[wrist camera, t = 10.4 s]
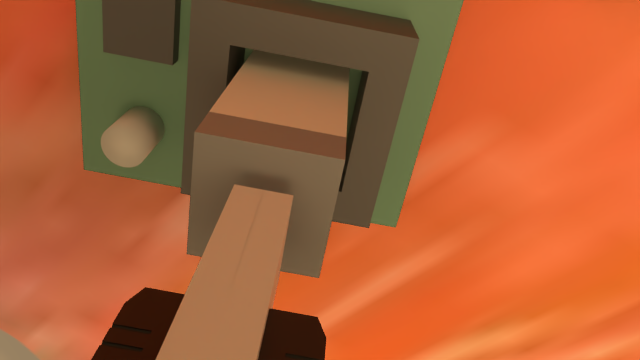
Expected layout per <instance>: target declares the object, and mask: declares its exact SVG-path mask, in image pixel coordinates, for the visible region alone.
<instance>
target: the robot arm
mask: <svg viewBox="0 0 640 360" xmlns="http://www.w3.org/2000/svg"><path fill="white" fill-rule="evenodd" d="M292 201H293V195H289V194H283V193H278V192H273V191H267V190H262V189H257V188H251V187H246V186H241V185H235V184H234V186H233V188H232V191H231V193H230V195H229V197H228V200H227V202H226V204H225V206H224V209H223V211H222V213H221V215H220V217H219V220H218V222H217V224H216V226H215V229H214V231H213V233H212V235H211V237H210V240H209V242H208V244H207V246H206V249H205V251H204V253H203V255H202V257H201V260H200V262H199V264H198V266H197V269H196V271H195V273H194V275H193V277H192V280H191V282H190V284H189V286H188V289H187V291H186V293H185V294H179V293H174V292H168V291H163V290H157V289H152V288H146V287H145V288H144V289H143V290H141V291H140V292H139V293H137V294H136V295H135V296H133V297H132V298H131V299H129V300H128V301H127V302H126V303H125V304H124V305H123V307H122V309H121V310H120V312H119V314H118V315H117V317H116V319H115V320H114V322H113V325H112V328H110V329H109V331H108V332H107V334H106V336H105V337H104V339H103V341H102V345H100V346H99V347H98V349H97V351H96V353H95V354H94V356H93V358H92V359H91V360H325V346H326V336H325V334H324V332H323V329H322V327H321V324H320V322H319V320H318V317H314V316H309V315H303V314H298V313H292V312H287V311H281V310H276V309H272V308H273V303H274V299H275V294H276V289H277V285H278V280H279V274H280V269H281V263H282V257H283V252H284V246H285V240H286V235H287V229H288V224H289V218H290V212H291V207H292Z"/></svg>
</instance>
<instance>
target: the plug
mask: <svg viewBox="0 0 640 360" xmlns="http://www.w3.org/2000/svg"><path fill="white" fill-rule="evenodd" d="M348 90H349V68H347V67H342V66H336V65H331V64H326V63H321V62H316V61H311V60H305V59H300V58H295V57H290V56H285V55H280V54H274V53H269V52H264V51H259V50H253V52H252V53H251V54H250V56H249V57H248V59H247V60H246V61H245V63H244V64H243V65H242V67H241V68H240V70H239V71H238V72H237V74H236V75H235V77H234V78H233V79H232V81H231V82H230V83H229V85H228V86H227V88H226V89H225V90H224V92H223V93H222V94H221V96H220V97H219V99H218V100H217V101H216V103H215V104H214V106H213V107H212V108H211V110H210V111H209V112H208V114H207V115H206V117H205V118H204V119H203V121H202V122H201V123H200V125H199V126H198V128H197V129H196V130H195V132H194V148H193V163H192V179H191V195H190V210H189V226H188V242H187V254H189V255H195V256H200V257H202V255H203V253H204V251H205V249H206V246H207V244H208V242H209V240H210V237H211V235H212V233H213V231H214V229H215V226H216V224H217V222H218V220H219V217H220V215H221V213H222V211H223V209H224V206H225V204H226V202H227V200H228V197H229V195H230V193H231V191H232V188H233V186H234V184H235V185H241V186H246V187H251V188H257V189H262V190H267V191H273V192H278V193H283V194H289V195H293V201H292V207H291V212H290V218H289V224H288V229H287V235H286V240H285V246H284V252H283V257H282V263H281V269H280V271H283V272H289V273H294V274H300V275H305V276H311V277H316V278H319V276H320V271H321V267H322V262H323V258H324V253H325V249H326V244H327V240H328V236H329V231H330V227H331V222H332V218H333V213H334V209H335V204H336V200H337V195H338V191H339V186H340V182H341V177H342V173H343V168H344V164H345V157H346V135H347V113H348Z"/></svg>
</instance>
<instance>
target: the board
mask: <svg viewBox="0 0 640 360" xmlns="http://www.w3.org/2000/svg"><path fill="white" fill-rule="evenodd" d="M463 1H464V0H75V2H76V22H77V42H78V62H79V82H80V102H81V122H82V142H83V163H84V170H89V171H94V172H100V173H105V174H110V175H116V176H121V177H127V178H132V179H137V180H143V181H148V182H153V183H159V184H164V185H170V186H175V187H180V188H181V193H182V194H188V195H191V179H192V163H193V148H194V132H195V130H196V129H197V128H198V126H199V125H200V123H201V122H202V121H203V119H204V118H205V117H206V115H207V114H208V112H209V111H210V110H211V108H212V107H213V106H214V104H215V103H216V101H217V100H218V99H219V97H220V96H221V94H222V93H223V92H224V90H225V89H226V88H227V86H228V85H229V83H230V82H231V81H232V79H233V78H234V77H235V75H236V74H237V72H238V71H239V70H240V68H241V67H242V65H243V64H244V63H245V61H246V60H247V59H248V57H249V56H250V54H251V53H252V52H253V50H259V51H264V52H269V53H274V54H280V55H285V56H290V57H295V58H300V59H305V60H311V61H316V62H321V63H326V64H331V65H336V66H342V67H347V68H349V90H348V113H347V135H346V157H345V164H344V168H343V173H342V177H341V182H340V186H339V191H338V195H337V200H336V204H335V209H334V213H333V218H332V221H334V222H339V223H345V224H350V225H355V226H361V227H366V228H369V226H370V223H375V224H380V225H385V226H391V227H396V225H397V221H398V218H399V215H400V211H401V208H402V205H403V201H404V198H405V195H406V191H407V188H408V185H409V181H410V178H411V175H412V171H413V168H414V165H415V161H416V158H417V155H418V151H419V148H420V144H421V141H422V138H423V134H424V131H425V128H426V124H427V121H428V118H429V114H430V111H431V108H432V104H433V101H434V98H435V94H436V91H437V88H438V84H439V81H440V78H441V74H442V71H443V68H444V64H445V61H446V57H447V54H448V51H449V47H450V44H451V41H452V37H453V34H454V31H455V27H456V24H457V21H458V17H459V14H460V11H461V7H462V4H463Z"/></svg>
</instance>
